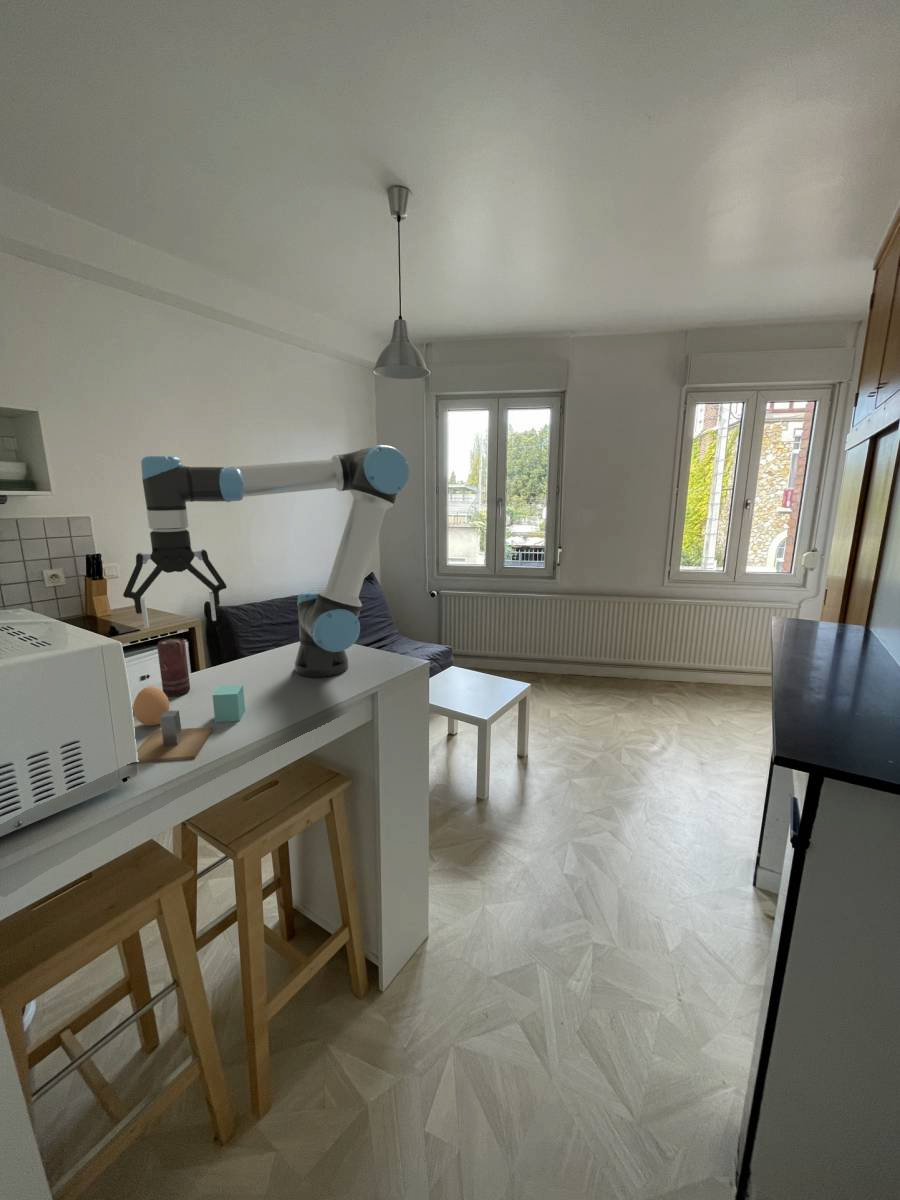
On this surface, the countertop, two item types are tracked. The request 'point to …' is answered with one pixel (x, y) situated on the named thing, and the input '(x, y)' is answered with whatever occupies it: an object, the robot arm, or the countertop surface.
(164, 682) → the can
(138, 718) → the egg
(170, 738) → the post
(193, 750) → the base board
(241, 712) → the turquoise block
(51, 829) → the countertop surface
